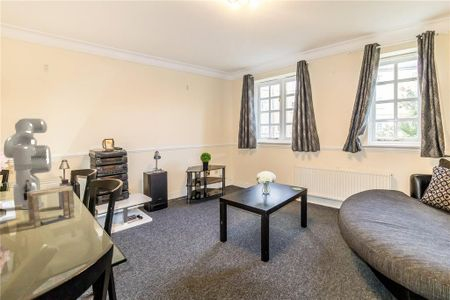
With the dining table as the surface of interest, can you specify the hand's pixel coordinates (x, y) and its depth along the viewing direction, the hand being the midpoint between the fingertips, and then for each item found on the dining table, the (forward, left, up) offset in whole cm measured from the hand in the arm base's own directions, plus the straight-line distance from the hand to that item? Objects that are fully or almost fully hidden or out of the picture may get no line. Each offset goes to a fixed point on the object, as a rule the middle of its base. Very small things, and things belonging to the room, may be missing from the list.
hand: (25, 198), depth 137 cm
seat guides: (+20, +6, -11) cm, 24 cm away
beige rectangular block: (-3, +22, -11) cm, 25 cm away
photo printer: (0, 0, -3) cm, 3 cm away
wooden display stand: (+20, +6, -11) cm, 24 cm away
